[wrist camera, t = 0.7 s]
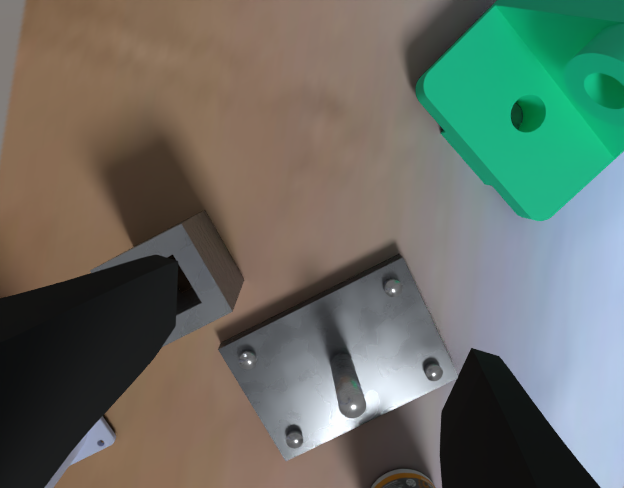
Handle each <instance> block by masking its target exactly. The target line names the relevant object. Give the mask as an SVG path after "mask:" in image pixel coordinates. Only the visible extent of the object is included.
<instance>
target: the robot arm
mask: <svg viewBox="0 0 624 488" xmlns="http://www.w3.org/2000/svg"><path fill="white" fill-rule="evenodd" d="M177 282H178V261H177V260H173V259H170V258H167V257H163V256H160V255H157V254H156V255H151V256H147V257H143V258H139V259H136V260H132V261H129V262H126V263H122V264H119V265H116V266H113V267H110V268H106V269H103V270H100V271H97V272H93V273H90V274H87V275H84V276H80V277H77V278H74V279H71V280H67V281H64V282H60V283H56V284H53V285H49V286H46V287H42V288H38V289H35V290H31V291H27V292H24V293H20V294H16V295H12V296H8V297H4V298H0V488H53V487H54V486H55V485H56V483H57V482H58V481H59V479H60V478H61V476H62V475H63V474H64V472H65V471H66V469H67V468H68V467H69V466H70V465H72V464H74V463H76V462H78V461H80V460H82V459H84V458H86V457H88V456H90V455H92V454H94V453H96V452H98V451H100V450H102V449H104V448H106V447H108V446H110V445H112V444H113V443H114V441H115V439H116V435H115V433H114V432H113V430H112V429H111V428H110V426H109V425H108V423H107V422H106V421H105V419H104V418H103V415H104V414H105V413H106V412H107V410H108V409H109V408H110V407H111V406H112V405H113V404H114V403H115V402H116V400H117V399H118V398H119V397H120V396H121V395H122V394H123V393H124V392H125V391H126V389H127V388H128V387H129V386H130V385H131V384H132V383H133V382H134V381H135V379H136V378H137V377H138V376H139V375H140V374H141V373H142V372H143V370H144V369H145V368H146V367H147V366H148V365H149V364H150V362H151V361H152V360H153V359H154V357H155V356H156V355H157V353H158V352H159V350H160V349H161V348H162V346H163V345H164V343H165V342H166V340H167V339H168V337H169V336H170V334H171V333H172V331H173V330H174V328H175V327H176V308H177ZM100 440H103V441H104V443H102V442H101V441H100ZM440 464H441V477H442V488H600V486H599V485H598V484H597V483H596V482H595V480H594V479H593V478H592V477H591V476H590V474H589V473H588V472H587V471H586V470H585V468H584V467H583V466H582V465H581V464H580V462H579V461H578V460H577V459H576V457H575V456H574V455H573V454H572V452H571V451H570V450H569V448H568V447H567V446H566V445H565V443H564V442H563V441H562V440H561V438H560V437H559V436H558V434H557V433H556V432H555V430H554V429H553V428H552V426H551V425H550V424H549V422H548V421H547V420H546V419H545V417H544V416H543V414H542V413H541V412H540V410H539V409H538V408H537V406H536V405H535V404H534V402H533V401H532V400H531V398H530V397H529V395H528V394H527V393H526V391H525V390H524V389H523V387H522V386H521V384H520V383H519V382H518V380H517V379H516V378H515V376H514V375H513V374H512V372H511V371H510V369H509V368H508V367H507V366H506V364H505V363H504V362H503V360H502V359H501V358H500V357H499V356H496V355H493V354H490V353H486V352H483V351H480V350H476V349H473V348H471V350H470V352H469V354H468V356H467V359H466V361H465V363H464V365H463V367H462V369H461V371H460V373H459V376H458V378H457V380H456V382H455V384H454V386H453V388H452V391H451V393H450V395H449V397H448V399H447V401H446V403H445V406H444V408H443V410H442V414H441V434H440Z"/></svg>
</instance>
